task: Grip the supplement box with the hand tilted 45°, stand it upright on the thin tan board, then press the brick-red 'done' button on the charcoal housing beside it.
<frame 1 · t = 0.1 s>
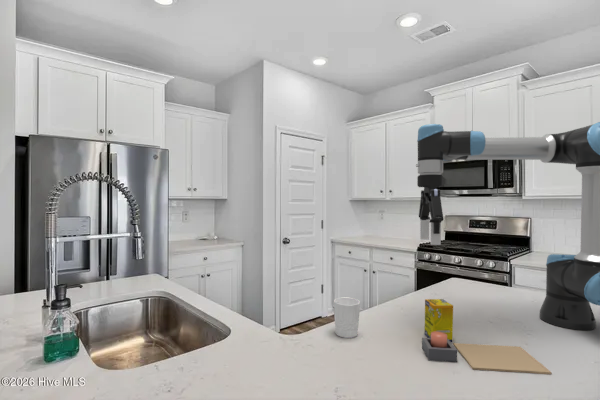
hand: (429, 242, 108), 28 cm above the table, tool pointing down, fingers open, 13 cm apart
supplement box: (438, 339, 102), on the table
white cup: (346, 334, 105), on the table
done button: (438, 340, 91), point 4 cm above the table, slide at 0.0 cm
button housing: (438, 354, 92), on the table
thin tan board: (498, 358, 90), on the table
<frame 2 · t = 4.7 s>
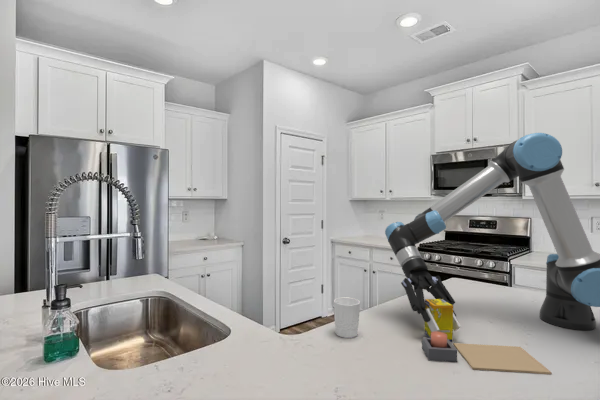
hand: (446, 330, 99), 4 cm above the table, tool tilted 45°, fingers closed on supplement box, 7 cm apart
supplement box: (438, 339, 102), on the table, touching gripper
everything else where it was.
when the fingers open (6 cm above the table, at t = 9.7 s): supplement box drops 1 cm, resting on thin tan board.
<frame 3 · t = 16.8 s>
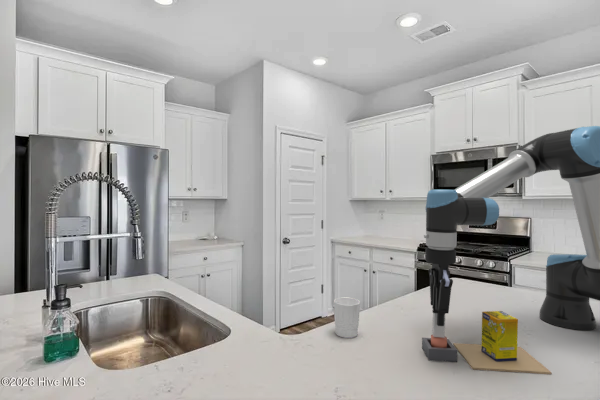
hand: (438, 336, 91), 5 cm above the table, tool pointing down, fingers closed
supplement box: (498, 356, 90), resting on thin tan board
done button: (438, 343, 91), point 3 cm above the table, slide at 0.8 cm, touching gripper
everything else where it was.
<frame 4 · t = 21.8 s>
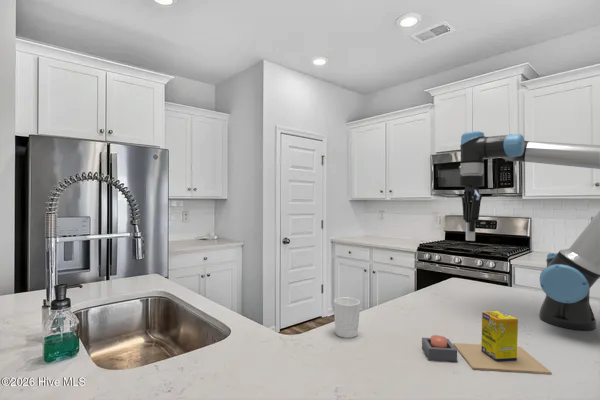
hand: (470, 240, 125), 26 cm above the table, tool pointing down, fingers closed
done button: (438, 344, 91), point 3 cm above the table, slide at 1.1 cm
everything else where it was.
at the end: supplement box inside the target area on the thin tan board (0.2 cm from its centre), point 0.3 cm above the thin tan board's base; supplement box tilted 0°; done button slide at 1.1 cm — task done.
